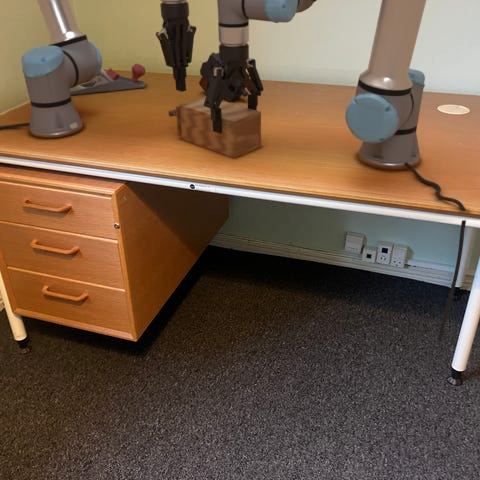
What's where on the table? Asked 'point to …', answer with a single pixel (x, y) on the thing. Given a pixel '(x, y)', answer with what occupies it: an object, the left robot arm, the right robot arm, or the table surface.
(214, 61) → the tool
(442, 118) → the table surface
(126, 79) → the hand plane
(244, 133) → the wooden grain block
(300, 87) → the table surface
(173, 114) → the drawer
